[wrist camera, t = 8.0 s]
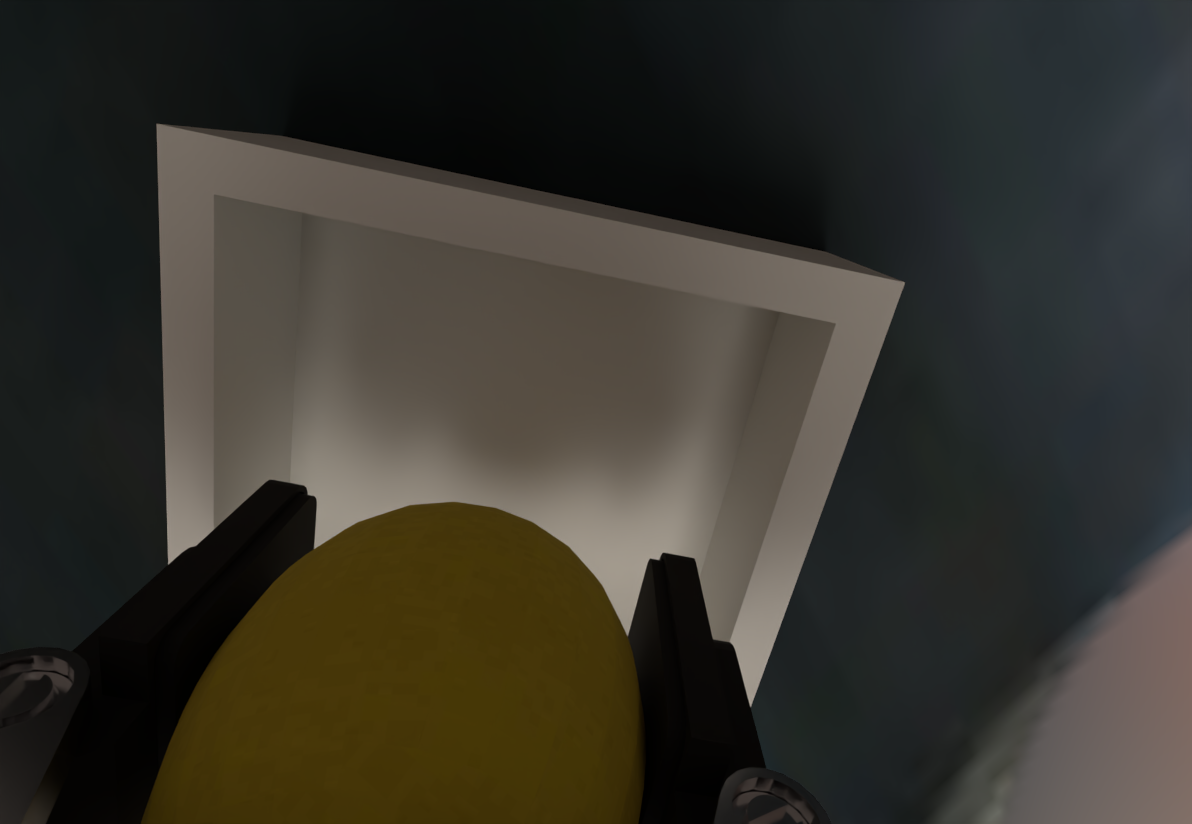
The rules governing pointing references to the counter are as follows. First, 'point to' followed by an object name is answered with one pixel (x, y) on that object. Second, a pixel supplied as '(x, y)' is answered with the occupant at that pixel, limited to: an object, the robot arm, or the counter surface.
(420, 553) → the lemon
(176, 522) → the rack
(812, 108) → the counter surface
